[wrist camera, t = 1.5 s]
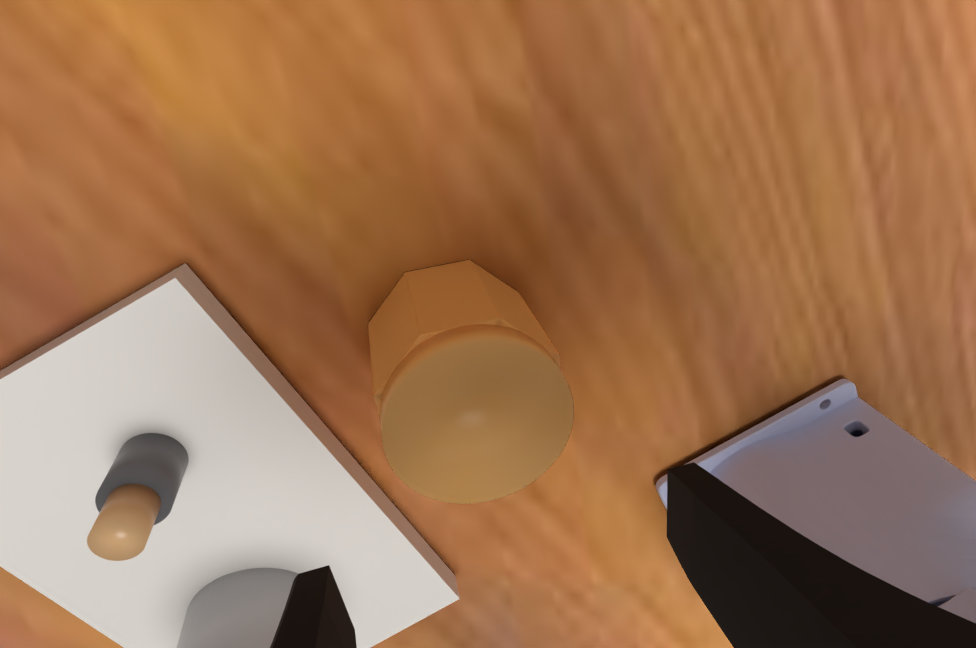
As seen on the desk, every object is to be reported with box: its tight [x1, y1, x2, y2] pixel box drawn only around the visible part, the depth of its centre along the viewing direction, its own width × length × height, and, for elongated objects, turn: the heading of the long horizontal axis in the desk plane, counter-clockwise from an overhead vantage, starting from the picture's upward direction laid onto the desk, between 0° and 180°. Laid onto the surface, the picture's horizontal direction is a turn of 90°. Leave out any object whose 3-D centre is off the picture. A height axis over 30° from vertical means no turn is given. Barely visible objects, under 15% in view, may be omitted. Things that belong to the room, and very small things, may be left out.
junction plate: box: [0, 263, 460, 648], centre depth 19 cm, size 11×17×7 cm, turn 27°
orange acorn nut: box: [368, 260, 574, 504], centre depth 18 cm, size 5×5×6 cm
